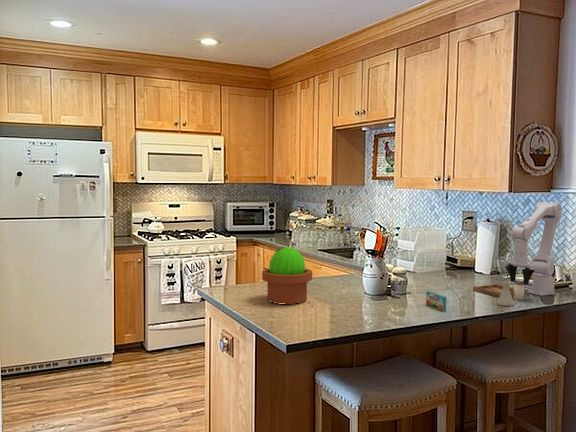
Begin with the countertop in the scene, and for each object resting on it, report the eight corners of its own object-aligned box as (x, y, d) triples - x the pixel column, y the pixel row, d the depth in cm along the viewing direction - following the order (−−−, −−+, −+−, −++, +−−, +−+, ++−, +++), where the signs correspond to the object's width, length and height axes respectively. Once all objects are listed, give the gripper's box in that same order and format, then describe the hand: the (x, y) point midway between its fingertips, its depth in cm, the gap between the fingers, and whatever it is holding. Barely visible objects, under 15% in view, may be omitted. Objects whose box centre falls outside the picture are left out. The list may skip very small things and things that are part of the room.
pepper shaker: (518, 297, 240) (519, 280, 239) (526, 299, 236) (526, 282, 235) (511, 298, 238) (512, 281, 237) (518, 300, 234) (519, 282, 233)
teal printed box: (426, 304, 226) (426, 291, 225) (428, 304, 226) (429, 290, 226) (443, 311, 214) (443, 297, 214) (446, 311, 215) (446, 296, 214)
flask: (516, 307, 222) (517, 284, 221) (498, 306, 223) (499, 283, 222) (512, 303, 229) (513, 280, 228) (495, 302, 230) (495, 280, 229)
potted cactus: (321, 300, 234) (321, 245, 232) (288, 309, 217) (288, 250, 216) (285, 292, 248) (285, 241, 247) (252, 301, 232) (252, 246, 230)
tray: (496, 288, 259) (496, 284, 259) (519, 294, 246) (519, 290, 246) (473, 290, 254) (473, 286, 253) (495, 297, 240) (495, 292, 240)
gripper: (501, 251, 240) (500, 280, 241) (526, 256, 227) (525, 286, 228) (513, 250, 243) (512, 279, 244) (538, 255, 230) (537, 285, 231)
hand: (519, 282), depth 236 cm, fingers open, 7 cm apart
